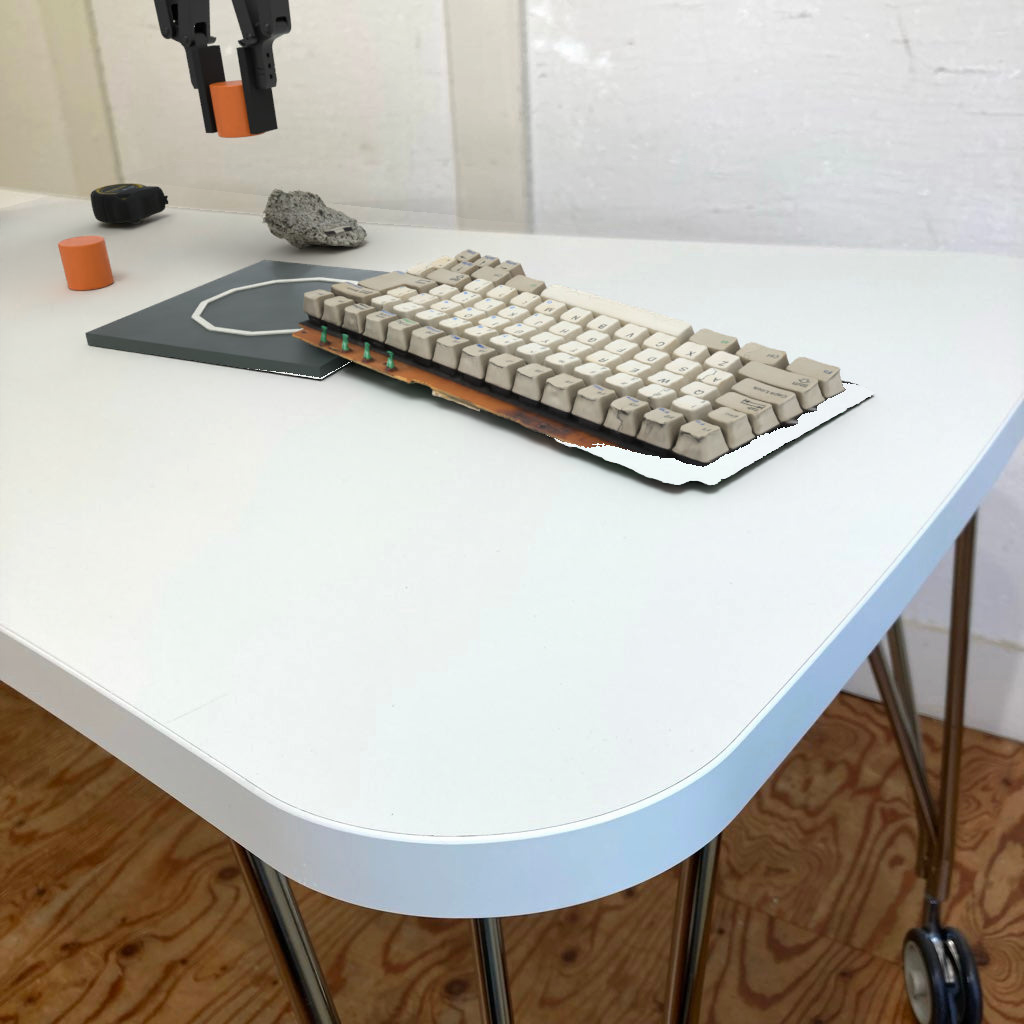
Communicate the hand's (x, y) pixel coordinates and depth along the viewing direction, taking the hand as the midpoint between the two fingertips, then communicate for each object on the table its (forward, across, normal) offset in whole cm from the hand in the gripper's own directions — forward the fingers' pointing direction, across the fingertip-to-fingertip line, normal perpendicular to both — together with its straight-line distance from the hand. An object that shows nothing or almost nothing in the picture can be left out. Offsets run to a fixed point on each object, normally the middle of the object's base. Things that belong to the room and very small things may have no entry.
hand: (241, 130), depth 89 cm
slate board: (+13, -8, +7) cm, 17 cm away
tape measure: (+13, +31, -16) cm, 37 cm away
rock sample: (+13, +3, -14) cm, 20 cm away
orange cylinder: (+13, +16, +5) cm, 21 cm away
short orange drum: (0, 0, 0) cm, 0 cm away
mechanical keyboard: (+13, -33, +12) cm, 37 cm away
